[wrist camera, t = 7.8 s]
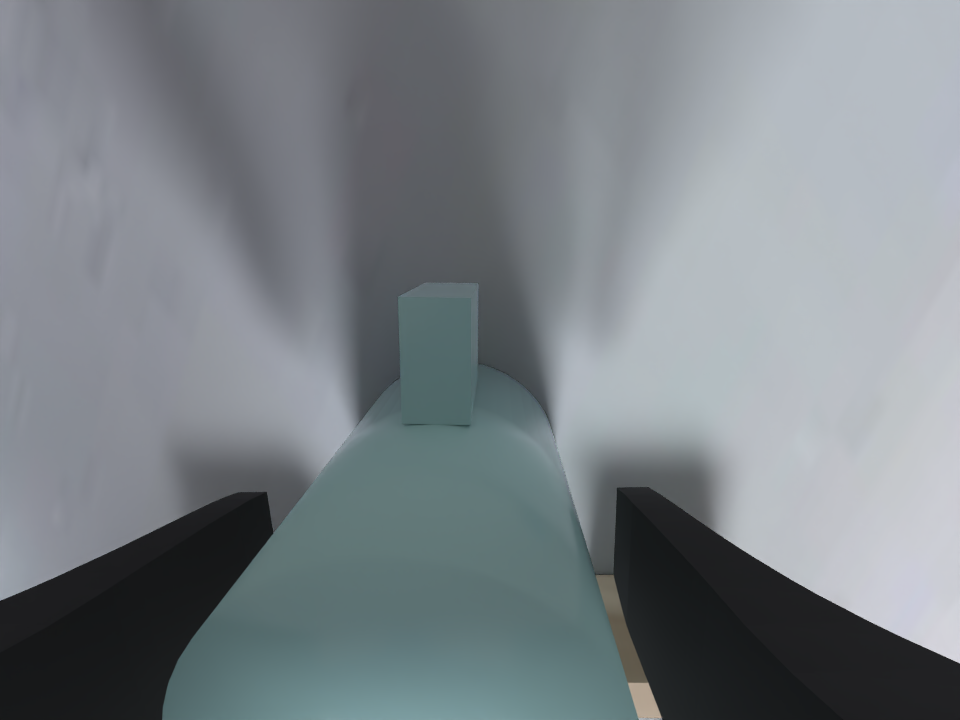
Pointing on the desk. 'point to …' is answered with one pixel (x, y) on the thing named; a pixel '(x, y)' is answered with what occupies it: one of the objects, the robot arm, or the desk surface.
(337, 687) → the teal cylinder with tab
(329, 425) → the desk surface
